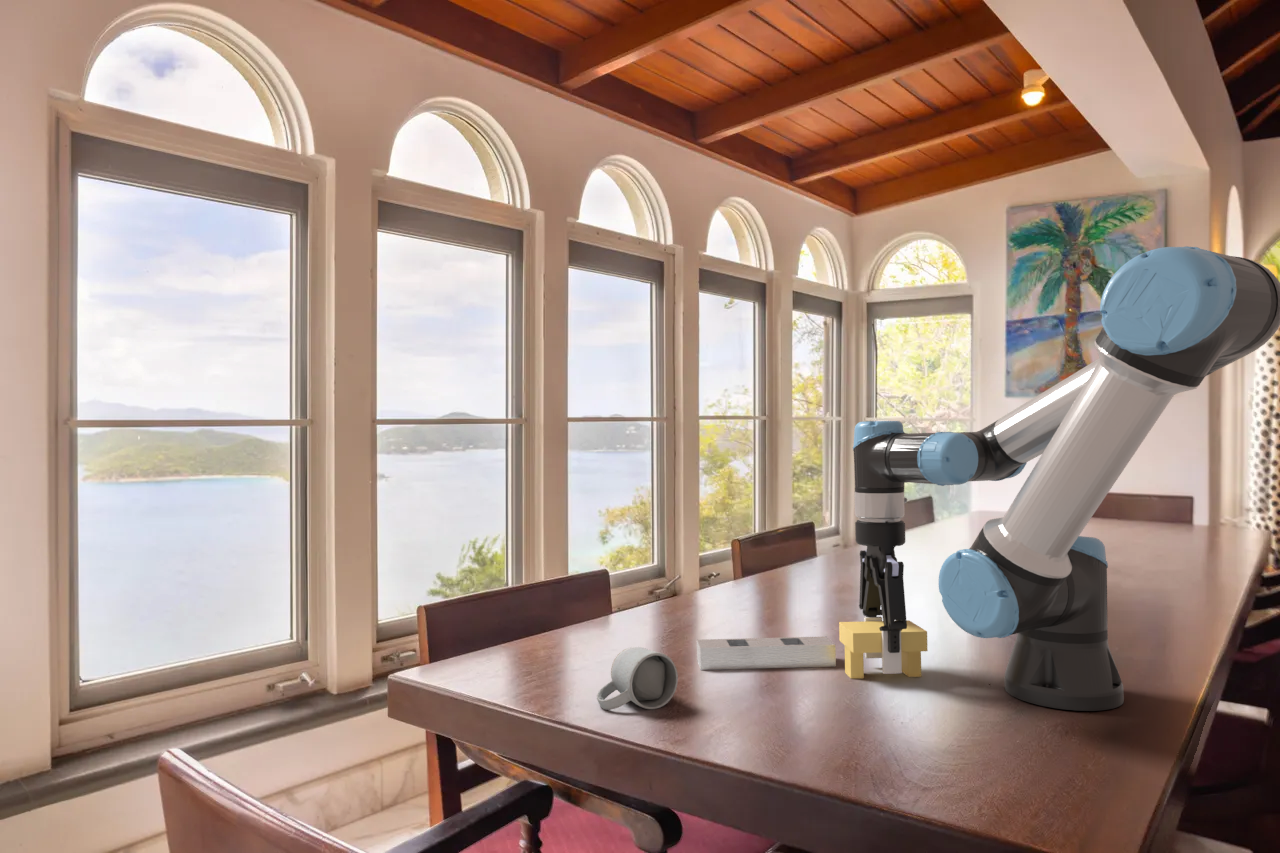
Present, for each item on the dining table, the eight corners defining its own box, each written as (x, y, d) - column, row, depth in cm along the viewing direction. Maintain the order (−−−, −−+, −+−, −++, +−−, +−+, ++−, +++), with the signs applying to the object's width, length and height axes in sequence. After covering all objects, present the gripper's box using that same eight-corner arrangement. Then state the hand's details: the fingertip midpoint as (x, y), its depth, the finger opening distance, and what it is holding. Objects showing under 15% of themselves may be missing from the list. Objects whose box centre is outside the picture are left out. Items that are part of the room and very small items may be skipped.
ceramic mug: (651, 689, 124) (650, 638, 124) (680, 704, 117) (678, 650, 117) (587, 702, 119) (585, 649, 119) (612, 719, 112) (610, 662, 112)
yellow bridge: (928, 680, 126) (927, 631, 126) (853, 682, 126) (852, 633, 126) (910, 667, 134) (909, 620, 134) (839, 668, 133) (839, 622, 133)
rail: (835, 666, 135) (835, 644, 135) (700, 669, 134) (700, 648, 134) (826, 657, 140) (826, 636, 140) (697, 660, 140) (696, 639, 140)
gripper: (928, 525, 120) (932, 684, 120) (881, 512, 141) (884, 647, 140) (877, 526, 120) (880, 685, 119) (837, 513, 140) (840, 648, 140)
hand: (882, 664), depth 130 cm, fingers open, 8 cm apart
